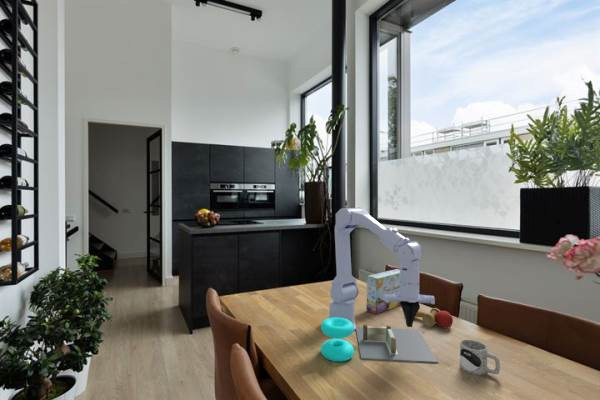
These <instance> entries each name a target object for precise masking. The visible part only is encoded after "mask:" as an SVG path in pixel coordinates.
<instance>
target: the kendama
mask: <svg viewBox="0 0 600 400" xmlns="http://www.w3.org/2000/svg"><path fill="white" fill-rule="evenodd" d="M415 318H422V322H423V323H424V324H425V325H426V326H428V325H429V327H433V326H434V325H436V324H437V325H438V326H439V327H440V328H443V329H448V328H450V327H452V325H453V323H454V319H453V315H451V313H450V312H449V311H446V310H440V309H439V308H437V307H434V308H431V309H430V312H425V311H420V310H418V312H417V313H416V316H415Z"/></svg>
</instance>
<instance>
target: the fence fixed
mask: <svg viewBox="0 0 600 400" xmlns="http://www.w3.org/2000/svg"><path fill="white" fill-rule="evenodd" d="M362 327H363V340H369V341H387V329H392V326H391V325H386V326H376V325H375V326H373V325H371V326H369V325H367V324H363V325H362Z"/></svg>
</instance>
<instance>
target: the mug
mask: <svg viewBox="0 0 600 400" xmlns="http://www.w3.org/2000/svg"><path fill="white" fill-rule="evenodd" d="M459 343H460V344H459V345H460V347H459V348H460V349H459V352H460V353H459V357H460V358H459V361H460V362H459V367H460V369H461V370H462V371H464V372H466V373H469V374H471V375H476V376H483V375H486V374H487V373H488V374H492V375H499V374H500V367H501V364H500V359H499V357H497V356H496V355H495V354H493V353H492V352H489V351H488V346H487V345H486V344H485V343H483V342H481V341H478V340H476V339H463V340H461V341H460V342H459ZM488 358H489V359H492V360H494V362H495V368H491V367H489V366H488Z"/></svg>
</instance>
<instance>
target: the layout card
mask: <svg viewBox="0 0 600 400" xmlns="http://www.w3.org/2000/svg"><path fill="white" fill-rule="evenodd" d="M391 330H392V332H393V334H394V337H395V338H396V353H395V354H393V353H391V350H390V347H389V344H388V341H369V340H363V326H362V327H360V326H356V330H355V332H356V337H357V342H358V343H357V344H358V347H359V348H358V349H359V353H360V354H359V355H360V359H361V360H366V361H367V360H369V361H370V360H371V361H387V362H388V361H389V362H391V361H392V362H411V363H425V364H427V363H428V364H439V360H438V359H437V357H436V355H435V353H434V352H433V351H432V349H431V348H430V346H429V345H428V343H427V342H426V339H425V338H424V337H423V335H422V333H421V332H420V330H419V329H412V328H411V329H409V328H391Z"/></svg>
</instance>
